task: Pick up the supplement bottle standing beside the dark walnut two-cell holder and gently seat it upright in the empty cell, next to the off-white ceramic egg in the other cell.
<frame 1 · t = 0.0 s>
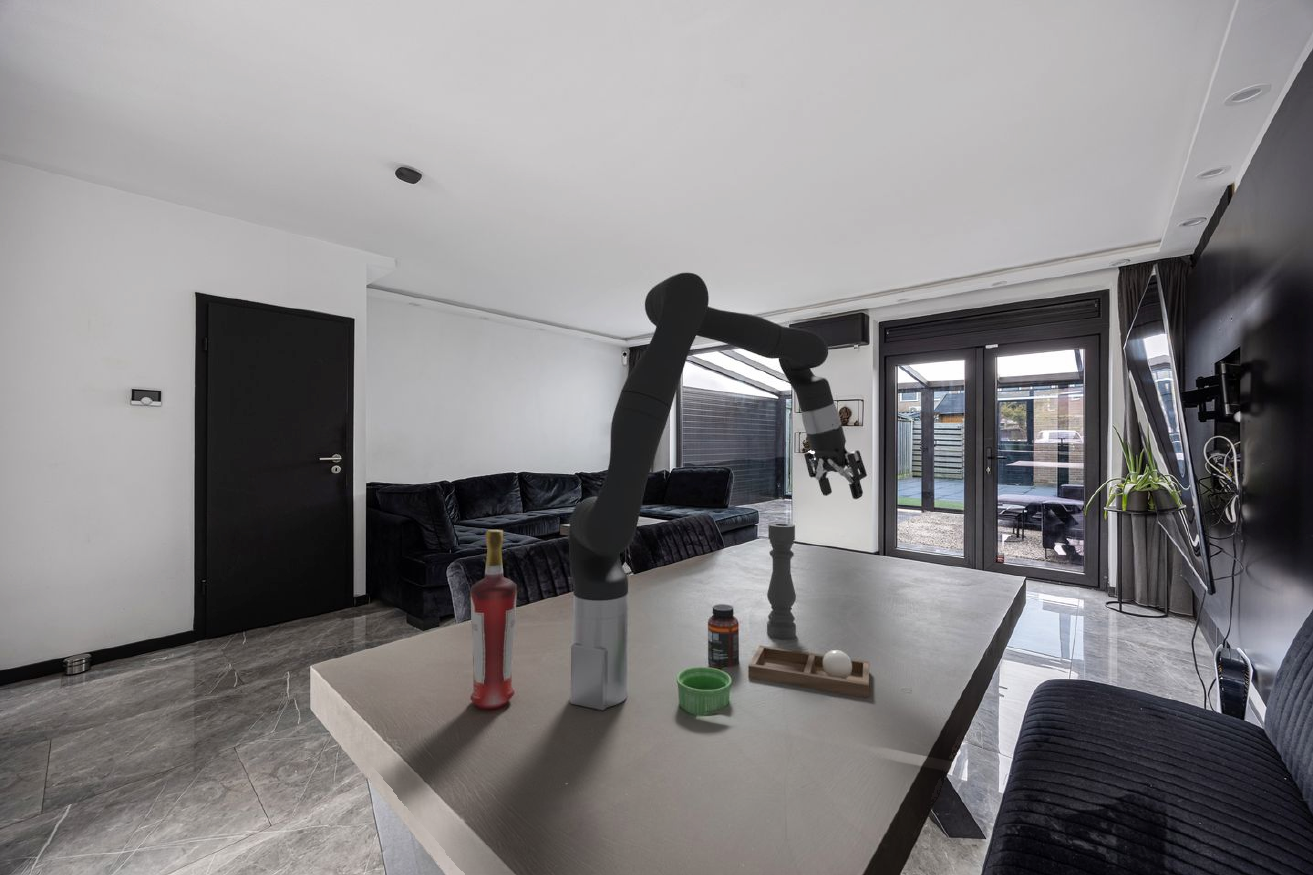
hand: (842, 496, 117), 31 cm above the table, tool tilted 20°, fingers open, 8 cm apart
holder: (809, 680, 96), on the table
liquor: (492, 703, 87), on the table
egg: (837, 679, 94), point 1 cm above the table, touching holder
grey turned candlestick: (781, 639, 117), on the table
supplement bottle: (723, 667, 102), on the table
ramekin: (703, 706, 87), on the table
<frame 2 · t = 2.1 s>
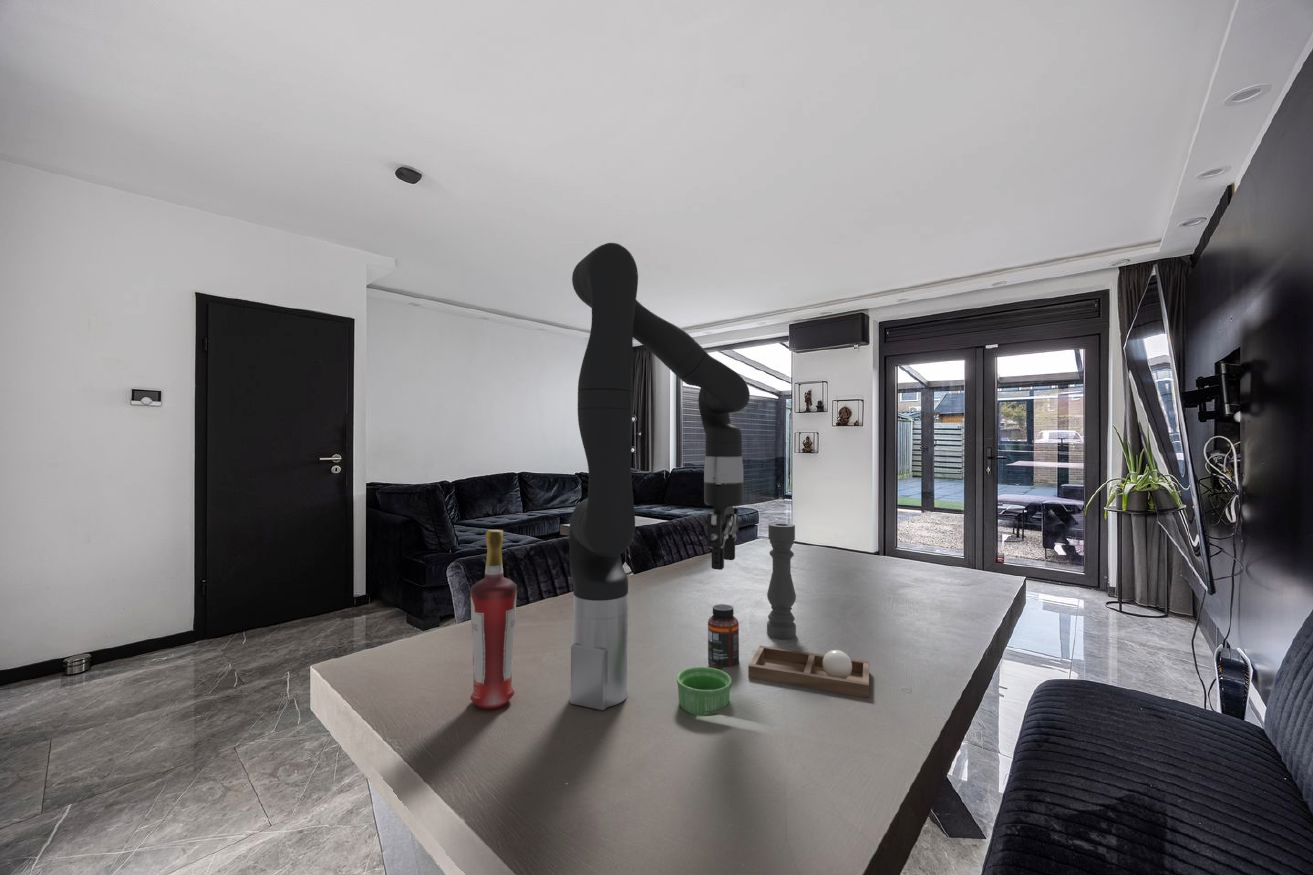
hand: (723, 564, 103), 19 cm above the table, tool pointing down, fingers open, 8 cm apart
nothing on the table moved.
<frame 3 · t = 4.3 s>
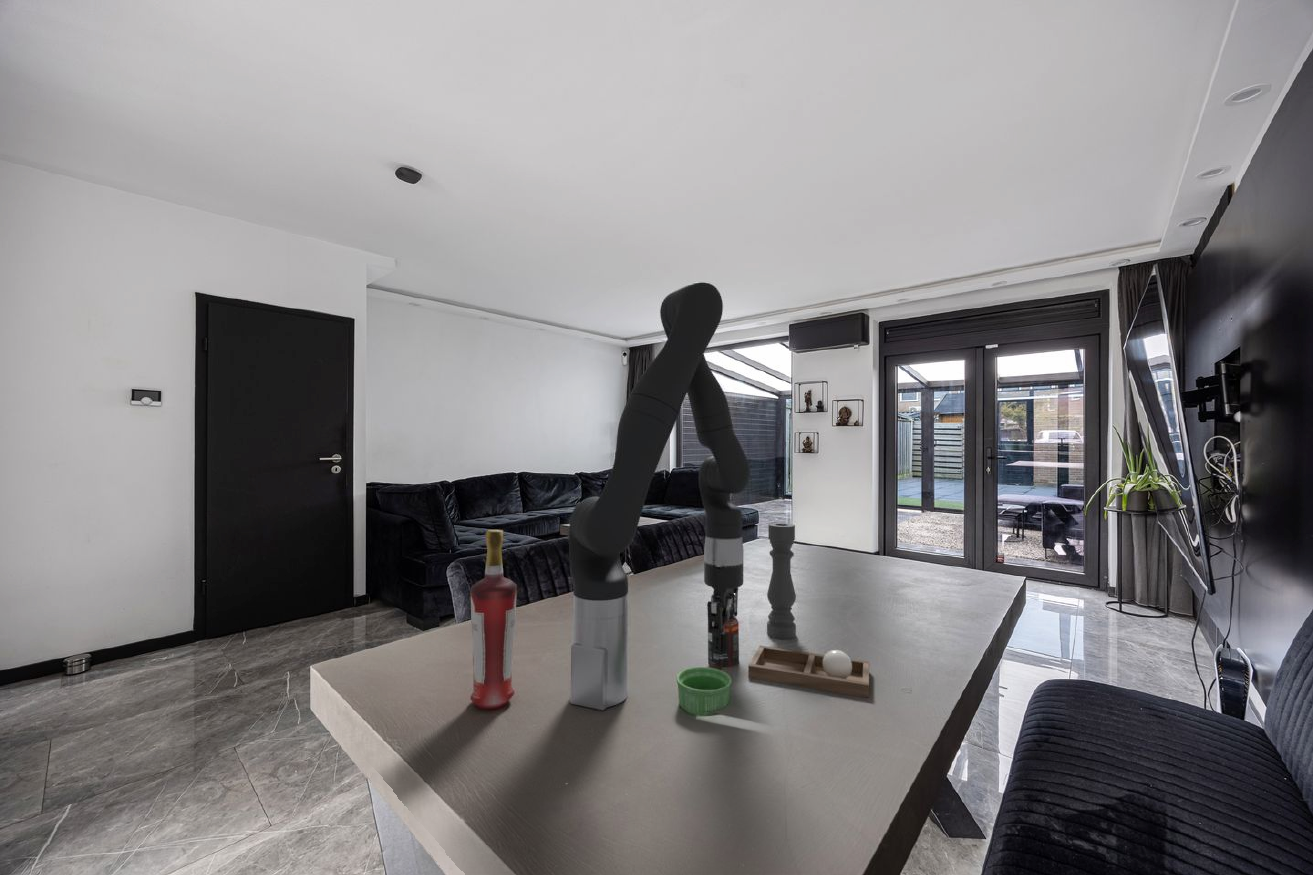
hand: (723, 647, 102), 4 cm above the table, tool pointing down, fingers closed on supplement bottle, 6 cm apart
supplement bottle: (723, 667, 102), on the table, touching gripper
everything else where it was.
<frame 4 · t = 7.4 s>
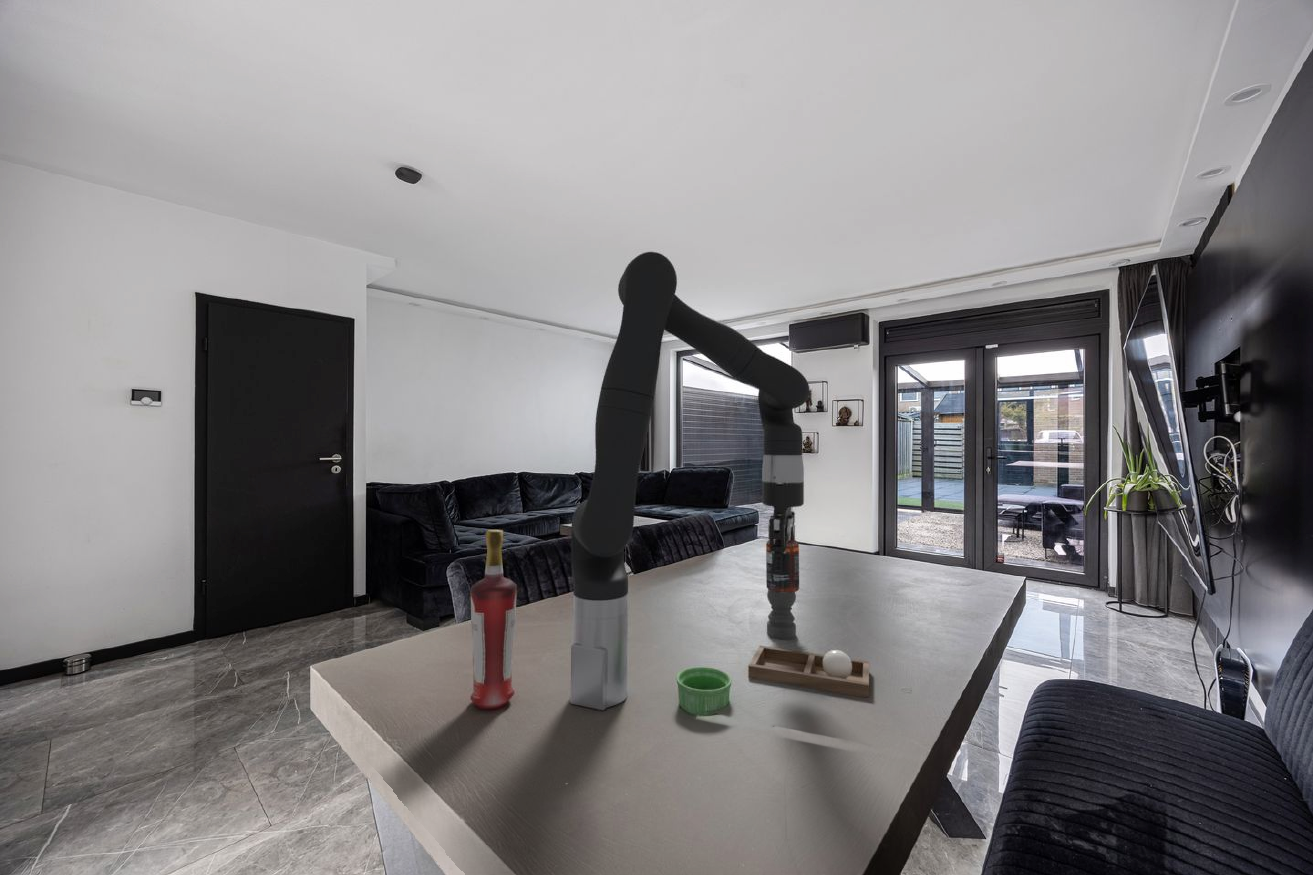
hand: (782, 570, 98), 19 cm above the table, tool pointing down, fingers closed on supplement bottle, 6 cm apart
supplement bottle: (782, 590, 98), point 16 cm above the table, touching gripper
everything else where it was.
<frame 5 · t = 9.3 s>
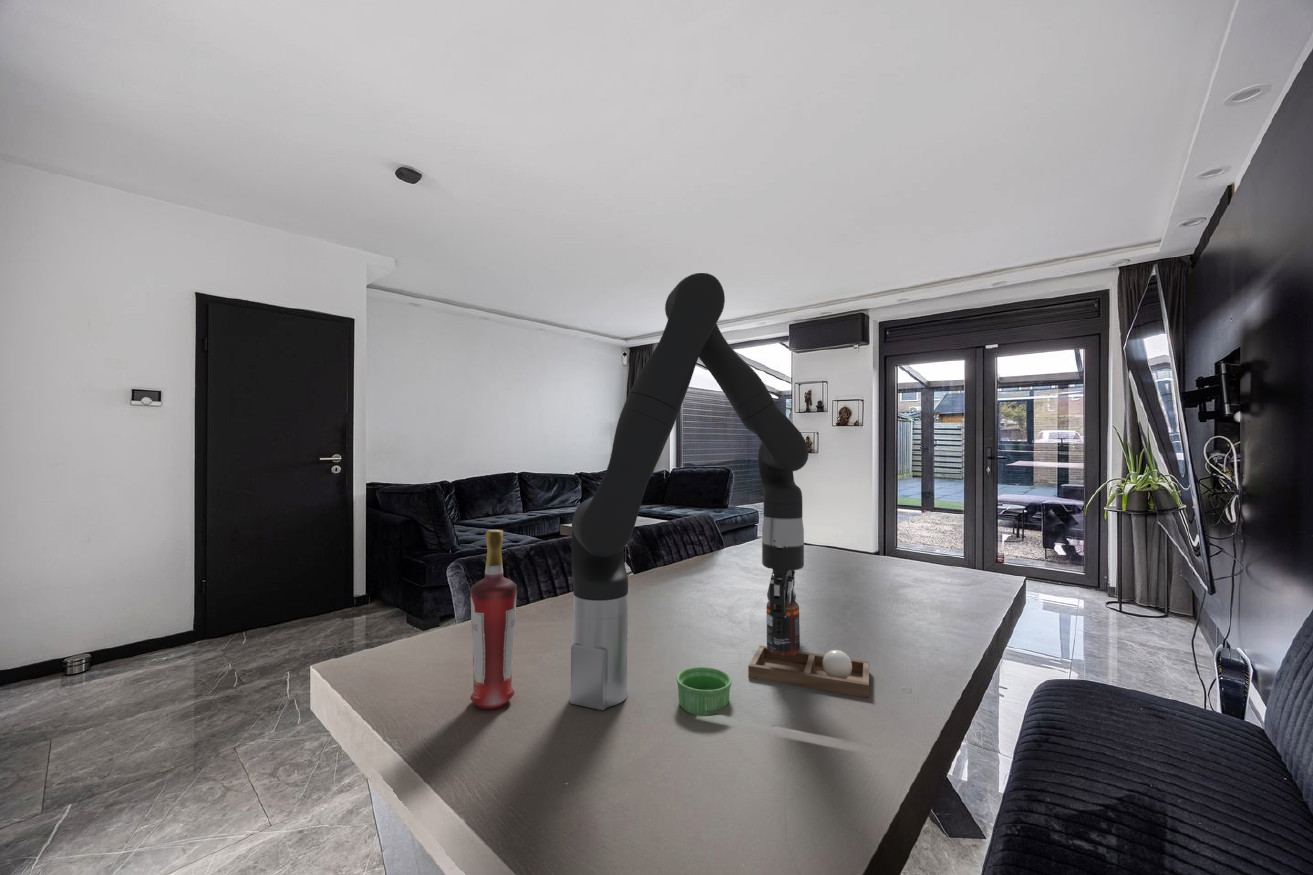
hand: (782, 631, 98), 8 cm above the table, tool pointing down, fingers closed on supplement bottle, 6 cm apart
supplement bottle: (783, 652, 98), point 4 cm above the table, touching gripper
everything else where it was.
when the fingers open (6 cm above the table, at t = 10.7 s): supplement bottle drops 1 cm, resting on holder.
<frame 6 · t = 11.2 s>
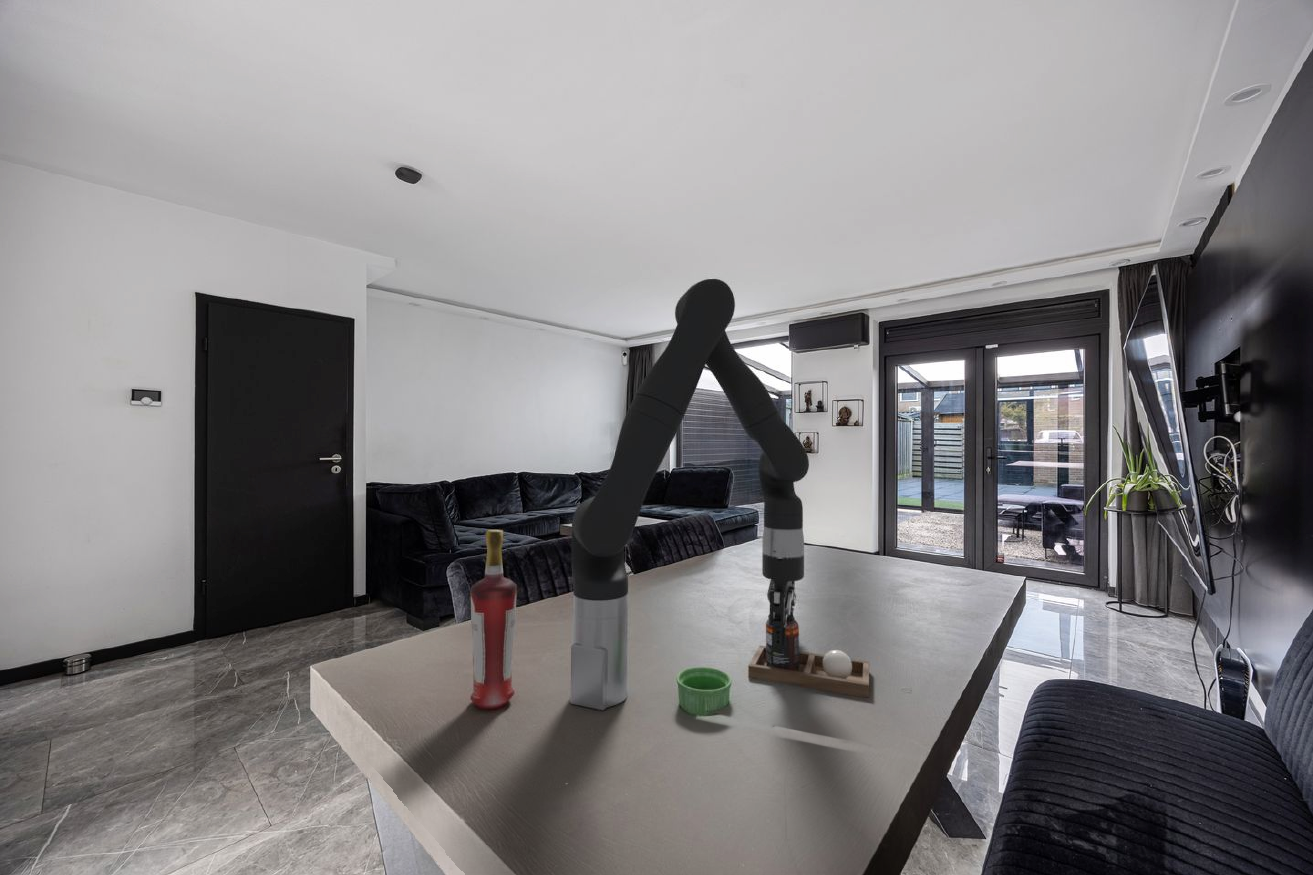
hand: (782, 639, 98), 7 cm above the table, tool pointing down, fingers open, 8 cm apart
supplement bottle: (782, 671, 98), point 1 cm above the table, touching holder
everything else where it was.
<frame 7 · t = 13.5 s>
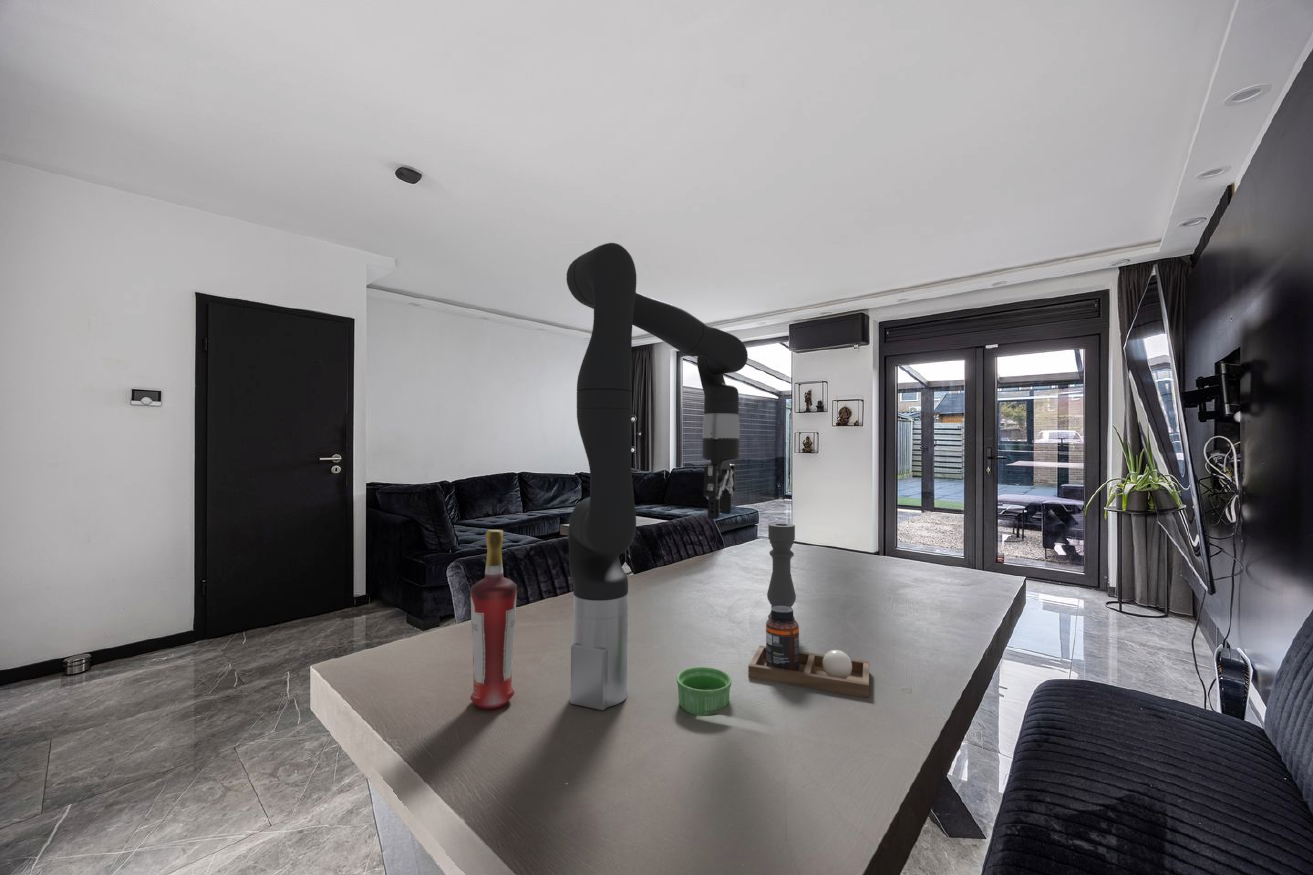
hand: (719, 516, 109), 28 cm above the table, tool pointing down, fingers open, 8 cm apart
nothing on the table moved.
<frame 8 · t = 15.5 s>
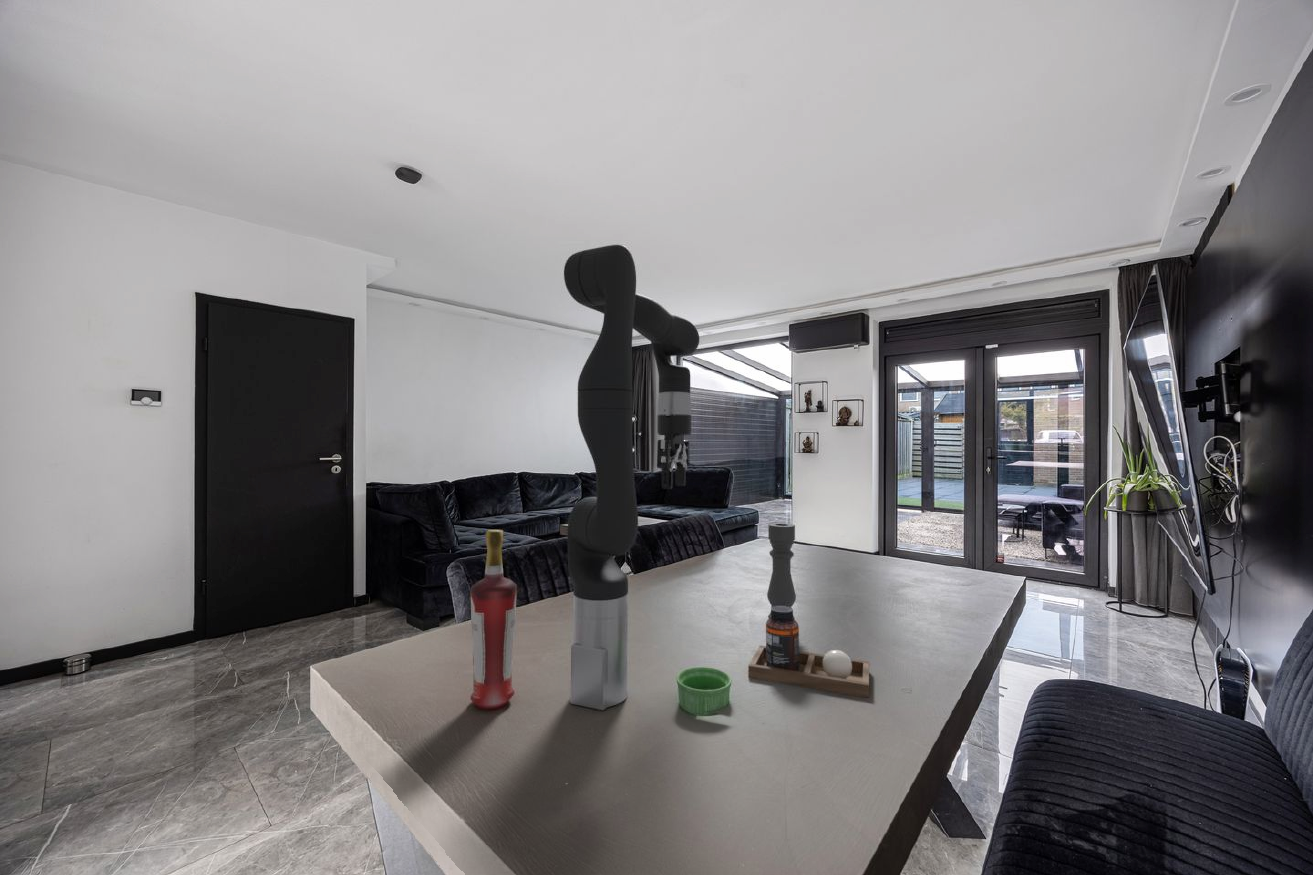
hand: (673, 487, 117), 33 cm above the table, tool pointing down, fingers open, 8 cm apart
nothing on the table moved.
at the end: supplement bottle 0.0 cm from the target spot on the holder, point 0.8 cm above the holder's base; supplement bottle tilted 0°; the gripper is holding nothing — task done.
